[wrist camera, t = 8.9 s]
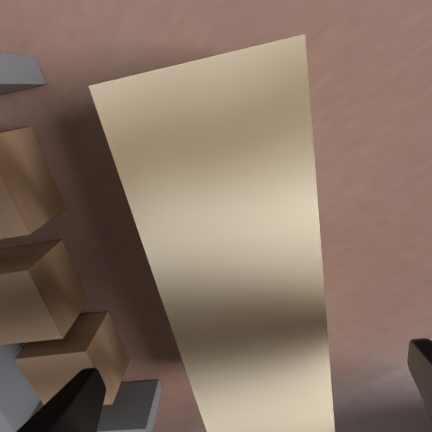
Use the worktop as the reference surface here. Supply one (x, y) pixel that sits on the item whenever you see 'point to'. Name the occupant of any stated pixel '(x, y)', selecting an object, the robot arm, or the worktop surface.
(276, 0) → the worktop surface
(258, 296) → the block
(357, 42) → the worktop surface
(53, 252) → the block
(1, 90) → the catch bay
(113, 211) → the worktop surface
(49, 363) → the walnut chip
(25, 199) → the walnut chip
